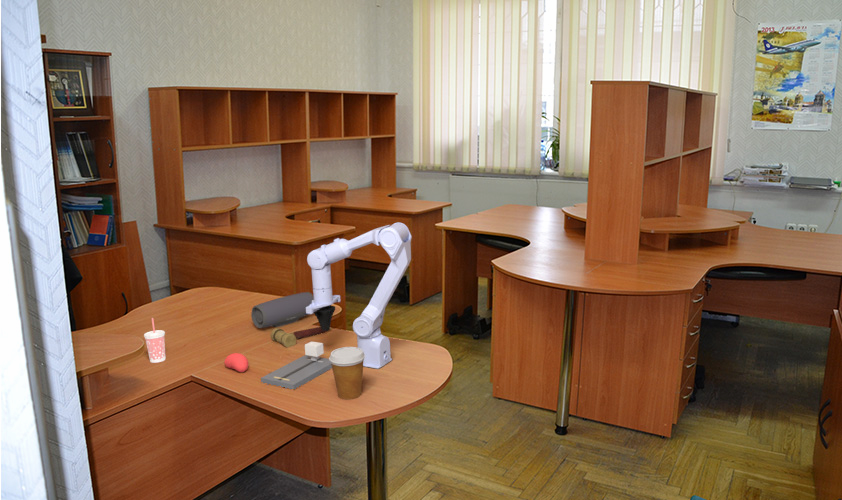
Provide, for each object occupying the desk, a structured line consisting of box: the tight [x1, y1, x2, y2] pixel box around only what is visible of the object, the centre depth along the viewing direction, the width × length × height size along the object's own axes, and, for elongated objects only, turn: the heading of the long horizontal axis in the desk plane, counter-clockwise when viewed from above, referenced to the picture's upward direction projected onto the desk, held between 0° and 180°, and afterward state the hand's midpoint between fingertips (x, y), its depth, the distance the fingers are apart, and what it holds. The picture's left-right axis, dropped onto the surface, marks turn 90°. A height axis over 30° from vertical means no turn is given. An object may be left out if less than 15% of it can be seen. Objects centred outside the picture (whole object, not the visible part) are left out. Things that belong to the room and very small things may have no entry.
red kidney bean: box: [223, 352, 249, 373], centre depth 195 cm, size 5×9×6 cm
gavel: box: [270, 326, 332, 348], centre depth 221 cm, size 21×5×10 cm
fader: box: [304, 341, 324, 361], centre depth 195 cm, size 4×3×5 cm
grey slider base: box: [260, 354, 332, 390], centre depth 189 cm, size 12×20×2 cm, turn 151°
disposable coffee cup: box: [328, 346, 365, 400], centre depth 173 cm, size 10×10×12 cm
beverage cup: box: [143, 317, 166, 364], centre depth 204 cm, size 6×6×14 cm
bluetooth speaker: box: [250, 291, 314, 329], centre depth 237 cm, size 23×9×10 cm, turn 136°
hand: (325, 329), depth 199 cm, fingers closed
